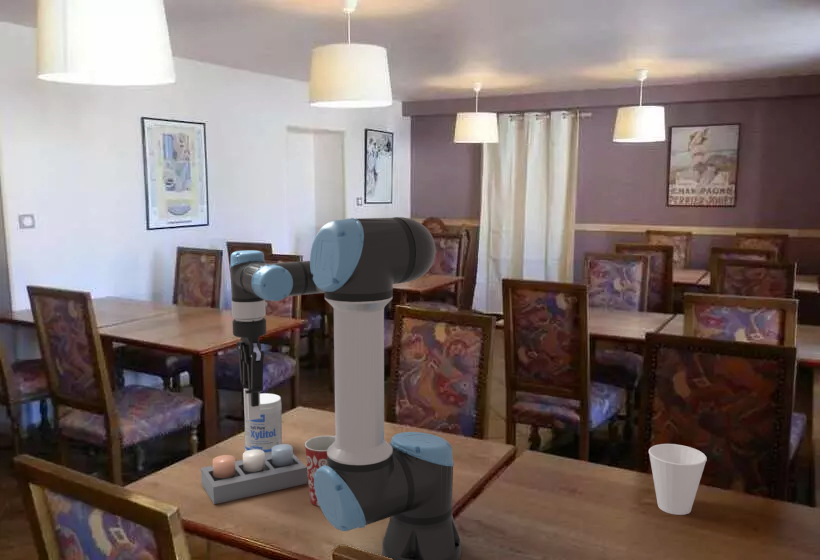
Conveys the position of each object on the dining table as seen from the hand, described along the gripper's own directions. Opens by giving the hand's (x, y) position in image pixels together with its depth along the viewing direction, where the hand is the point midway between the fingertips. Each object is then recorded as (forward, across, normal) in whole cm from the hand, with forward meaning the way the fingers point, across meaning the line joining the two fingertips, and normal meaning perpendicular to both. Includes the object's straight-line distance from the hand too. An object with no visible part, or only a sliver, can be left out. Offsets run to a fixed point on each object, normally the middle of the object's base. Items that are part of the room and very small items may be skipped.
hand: (252, 416), depth 161 cm
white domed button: (+12, 0, 0) cm, 12 cm away
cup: (+17, -57, -77) cm, 97 cm away
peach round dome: (+12, 0, +7) cm, 14 cm away
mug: (+17, -15, -13) cm, 26 cm away
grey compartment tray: (+16, 0, 0) cm, 16 cm away
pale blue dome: (+12, 0, -7) cm, 14 cm away
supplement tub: (+17, +18, -8) cm, 26 cm away
